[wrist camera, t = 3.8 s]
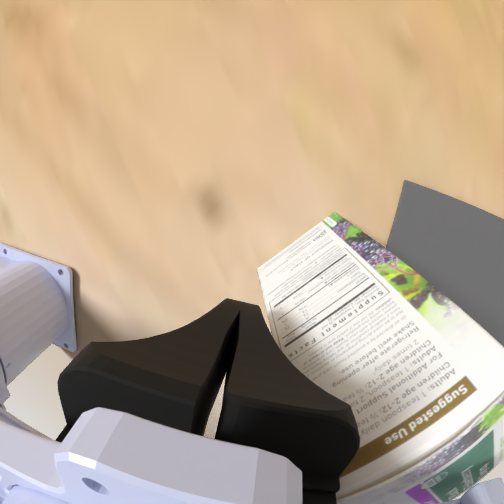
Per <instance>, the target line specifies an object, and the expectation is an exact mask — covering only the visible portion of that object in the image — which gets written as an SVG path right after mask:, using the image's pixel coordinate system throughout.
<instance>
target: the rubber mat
mask: <svg viewBox="0 0 504 504" xmlns="http://www.w3.org/2000/svg"><path fill="white" fill-rule="evenodd" d="M386 249H387V250H389V251H390V252H391V253H393V254H394V255H395V256H396V257H398V258H399V259H400V260H402V261H403V262H404V263H406V264H407V265H408V266H410V267H411V268H412V269H413V270H415V271H416V272H417V273H418V274H420V275H421V276H422V277H423V278H425V279H426V280H427V281H428V282H429V283H431V284H432V285H433V286H434V287H436V288H437V289H438V290H439V291H441V292H442V293H443V294H444V295H445V296H447V297H448V298H449V299H450V300H451V301H453V302H454V303H455V304H456V305H457V306H459V307H460V308H461V309H462V310H463V311H464V312H465V313H466V314H468V315H469V316H470V317H471V318H472V319H473V320H475V321H476V322H477V323H478V324H479V325H480V326H481V327H483V328H484V329H485V330H486V331H487V332H488V333H489V334H490V335H491V336H492V337H494V338H495V339H496V340H497V341H498V342H499V343H500V344H501V345H502V346H503V347H504V219H502V218H500V217H497V216H495V215H493V214H491V213H488V212H486V211H484V210H482V209H479V208H477V207H475V206H472V205H470V204H467V203H465V202H463V201H460V200H458V199H455V198H453V197H450V196H448V195H445V194H442V193H440V192H437V191H434V190H432V189H429V188H426V187H424V186H421V185H418V184H415V183H412V182H410V181H407V180H404V184H403V188H402V192H401V196H400V200H399V204H398V208H397V211H396V215H395V218H394V222H393V225H392V229H391V232H390V235H389V239H388V242H387V245H386Z"/></svg>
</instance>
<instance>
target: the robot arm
mask: <svg viewBox="0 0 504 504" xmlns="http://www.w3.org/2000/svg"><path fill="white" fill-rule="evenodd" d="M61 270H62V271H63V273H62V272H61ZM52 343H53V344H55V345H57V346H59V347H61V348H64V349H66V350H68V351H70V352H75V351H76V350H77V343H76V332H75V319H74V302H73V273H72V270H71V269H70V267H68V266H65V265H62V264H59V263H56V262H53V261H50V260H47V259H44V258H42V257H39V256H36V255H33V254H30V253H28V252H25V251H22V250H19V249H17V248H14V247H11V246H8V245H6V244H3V243H0V504H337V500H336V492H338V491H339V490H340V480H339V476H340V475H341V474H342V473H343V471H344V470H345V469H346V467H347V466H348V465H349V464H350V462H351V461H352V460H353V458H354V457H355V455H356V453H357V451H358V450H359V448H360V436H359V431H358V427H357V423H356V420H355V417H354V414H353V411H352V409H351V406H350V405H349V404H348V403H346V402H344V401H342V400H340V399H338V398H337V397H335V396H333V395H331V394H329V393H328V392H326V391H325V390H323V389H322V388H320V387H319V386H318V385H316V384H315V383H313V382H312V381H311V380H310V379H308V378H307V377H306V376H305V375H304V374H303V373H301V372H300V371H299V370H298V369H297V368H296V367H295V366H294V365H293V364H292V363H291V362H290V361H289V359H288V358H287V357H286V356H285V355H284V353H283V352H282V351H281V350H280V348H279V347H278V345H277V343H276V342H275V340H274V338H273V337H272V335H271V333H270V331H269V329H268V327H267V325H266V323H265V320H264V318H263V315H262V312H261V309H260V307H259V306H258V305H254V304H249V303H245V302H241V301H236V300H232V299H228V298H227V299H225V300H223V301H222V302H221V303H220V304H219V305H217V306H216V307H215V308H213V309H212V310H211V311H209V312H208V313H206V314H205V315H203V316H202V317H200V318H198V319H197V320H195V321H193V322H191V323H189V324H188V325H186V326H184V327H181V328H179V329H176V330H174V331H171V332H168V333H165V334H161V335H157V336H153V337H150V338H145V339H139V340H132V341H122V342H91V343H90V344H89V345H87V346H86V347H85V348H84V349H83V350H82V351H81V352H80V353H79V354H78V355H77V356H76V357H75V358H74V359H73V360H72V362H71V363H70V364H69V365H68V366H67V367H66V368H65V369H64V370H63V372H62V373H61V374H60V376H59V379H58V392H59V396H60V400H61V404H62V408H63V411H64V415H65V419H66V423H67V425H66V426H65V428H64V430H63V431H62V432H61V433H60V435H59V436H58V438H57V439H56V440H52V439H51V438H49V437H47V436H45V435H44V434H42V433H40V432H39V431H37V430H35V429H34V428H32V427H30V426H29V425H27V424H25V423H24V422H22V421H21V420H19V419H17V418H16V417H15V416H13V415H12V414H10V413H9V412H7V411H6V408H5V406H4V405H3V403H4V402H5V401H6V400H7V399H8V398H9V396H10V393H9V391H8V389H7V386H8V385H9V384H10V383H11V382H12V381H13V380H14V379H15V378H16V377H17V376H18V375H19V374H20V373H21V372H22V371H23V370H24V369H25V368H26V367H27V366H28V365H29V364H30V363H32V362H33V361H34V360H35V359H36V358H37V357H38V356H39V355H40V354H41V353H42V352H43V351H44V350H45V349H46V348H48V346H50V345H51V344H52ZM225 374H226V379H225V386H224V394H223V402H222V410H221V414H220V418H219V422H218V426H217V431H216V435H215V439H212V438H208V437H204V432H205V428H206V425H207V421H208V418H209V415H210V412H211V409H212V407H213V404H214V402H215V399H216V397H217V394H218V392H219V389H220V387H221V384H222V382H223V379H224V377H225ZM437 504H504V484H503V482H502V479H501V478H496V479H493V480H489V481H485V482H481V483H479V484H476V485H475V486H473V487H471V488H470V489H469V490H468V491H467V492H466V493H465V494H464V495H463V496H462V497H461V498H460V499H456V500H452V501H447V502H442V503H437Z"/></svg>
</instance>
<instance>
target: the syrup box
mask: <svg viewBox="0 0 504 504" xmlns="http://www.w3.org/2000/svg"><path fill="white" fill-rule="evenodd" d="M257 273H258V277H259V281H260V285H261V290H262V295H263V298H264V303H265V308H266V312H267V315H268V320H269V324H270V329H271V333H272V337H273V338H274V340H275V342H276V343H277V345H278V347H279V348H280V350H281V351H282V352H283V353H284V355H285V356H286V357H287V358H288V359H289V361H290V362H291V363H292V364H293V365H294V366H295V367H296V368H297V369H298V370H299V371H300V372H301V373H303V374H304V375H305V376H306V377H307V378H308V379H310V380H311V381H312V382H313V383H315V384H316V385H318V386H319V387H320V388H322V389H323V390H325V391H326V392H328V393H329V394H331V395H333V396H335V397H337V398H338V399H340V400H342V401H344V402H346V403H348V404H349V405H350V406H351V409H352V411H353V414H354V417H355V420H356V423H357V427H358V431H359V436H360V448H359V450H358V451H357V453H356V455H355V457H354V458H353V460H352V461H351V462H350V464H349V465H348V466H347V467H346V469H345V470H344V471H343V473H342V474H341V475H340V476H339V480H340V490H339V491H338V492H336V500H337V504H437V503H442V502H447V501H452V500H453V499H455V498H456V497H458V496H460V495H461V494H463V493H464V492H465V491H467V490H468V489H470V488H471V487H472V486H474V485H475V484H476V483H477V482H479V481H480V480H481V479H483V478H484V477H485V476H486V475H487V474H488V473H490V472H491V471H492V470H493V469H494V468H495V467H496V466H497V465H498V464H499V463H500V462H501V461H502V460H503V459H504V347H503V346H502V345H501V344H500V343H499V342H498V341H497V340H496V339H495V338H494V337H492V336H491V335H490V334H489V333H488V332H487V331H486V330H485V329H484V328H483V327H481V326H480V325H479V324H478V323H477V322H476V321H475V320H473V319H472V318H471V317H470V316H469V315H468V314H466V313H465V312H464V311H463V310H462V309H461V308H460V307H459V306H457V305H456V304H455V303H454V302H453V301H451V300H450V299H449V298H448V297H447V296H445V295H444V294H443V293H442V292H441V291H439V290H438V289H437V288H436V287H434V286H433V285H432V284H431V283H429V282H428V281H427V280H426V279H425V278H423V277H422V276H421V275H420V274H418V273H417V272H416V271H415V270H413V269H412V268H411V267H410V266H408V265H407V264H406V263H404V262H403V261H402V260H400V259H399V258H398V257H396V256H395V255H394V254H393V253H391V252H390V251H389V250H387V249H386V248H384V247H383V246H382V245H381V244H379V243H378V242H376V241H375V240H373V239H372V238H371V237H369V236H368V235H366V234H365V233H364V232H362V231H361V230H360V229H358V228H357V227H356V226H354V225H353V224H351V223H350V222H348V221H347V220H346V219H344V218H343V217H341V216H340V215H339V214H337V213H336V212H334V213H332V214H331V215H329V216H328V217H327V218H325V219H324V220H323V221H321V222H320V223H319V224H317V225H316V226H315V227H313V228H312V229H311V230H309V231H308V232H306V233H305V234H304V235H302V236H301V237H300V238H298V239H297V240H296V241H294V242H293V243H292V244H290V245H289V246H287V247H286V248H285V249H283V250H282V251H281V252H279V253H278V254H277V255H275V256H274V257H273V258H271V259H270V260H269V261H267V262H266V263H264V264H263V265H262V266H260V267H259V268H258V269H257Z"/></svg>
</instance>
